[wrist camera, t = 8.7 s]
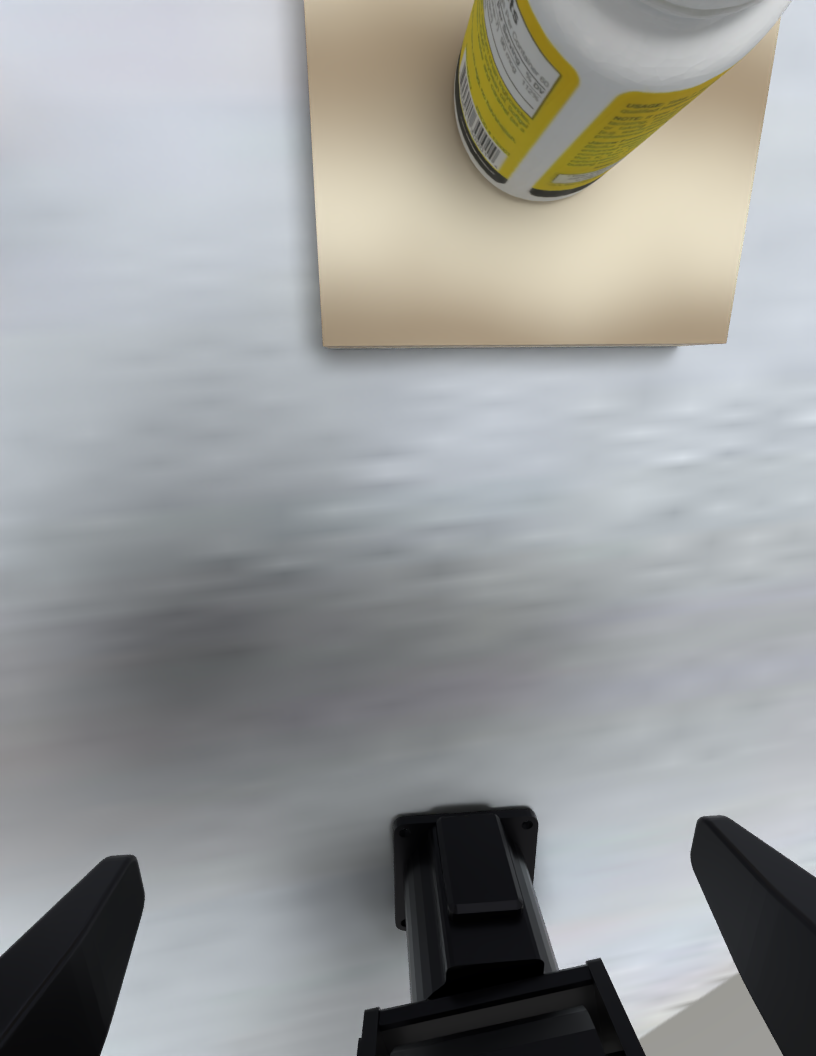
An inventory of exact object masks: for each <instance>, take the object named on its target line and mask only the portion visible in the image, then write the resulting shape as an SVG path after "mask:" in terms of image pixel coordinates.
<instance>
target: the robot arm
mask: <svg viewBox="0 0 816 1056" xmlns="http://www.w3.org/2000/svg"><path fill="white" fill-rule="evenodd" d="M524 821H526V822H524ZM402 829H406V830H402ZM537 833H538V820H537V818H536V815H535V813H534V812H533V811H532V810H530V809H516V810H501V811H485V812H469V813H454V814H438V815H422V816H406V817H400V818H398V819H397V820H396V821H395V822H394V825H393V841H394V886H395V923H396V927H397V928H398V929H400V930H405V931H407V947H408V962H409V978H410V994H411V1003H409V1004H405V1005H400V1006H396V1007H391V1008H387V1009H382V1010H381V1009H380V1007H376V1008H372V1009H367V1010H365V1011H364V1020H363V1030H362V1038H359V1041H358V1050H357V1056H646V1055H645V1053H644V1051H643V1049H642V1047H641V1045H640V1042H639V1040H638V1038H637V1036H636V1034H635V1032H634V1029H633V1027H632V1025H631V1023H630V1021H629V1019H628V1016H627V1014H626V1012H625V1010H624V1008H623V1006H622V1003H621V1001H620V999H619V997H618V995H617V993H616V990H615V988H614V986H613V984H612V982H611V980H610V977H609V975H608V973H607V971H606V969H605V967H604V964H603V962H602V960H601V958H597V959H593V960H588V961H586V964H585V965H581V966H576V967H572V968H567V969H563V970H559V968H558V965H557V962H556V959H555V955H554V952H553V949H552V946H551V943H550V939H549V936H548V933H547V930H546V926H545V923H544V920H543V917H542V914H541V910H540V907H539V904H538V901H537V897H536V894H535V891H534V888H533V879H534V868H535V856H536V845H537ZM690 856H691V864H692V867H693V870H694V873H695V875H696V877H697V880H698V882H699V884H700V886H701V889H702V891H703V893H704V895H705V898H706V900H707V902H708V904H709V907H710V909H711V911H712V913H713V916H714V918H715V920H716V922H717V925H718V927H719V929H720V931H721V934H722V936H723V938H724V940H725V943H726V945H727V947H728V949H729V952H730V954H731V956H732V958H733V961H734V963H735V965H736V967H737V969H738V971H739V973H740V975H741V977H742V980H743V981H744V983H745V985H746V987H747V989H748V991H749V993H750V995H751V997H752V999H753V1001H754V1002H755V1004H756V1006H757V1008H758V1010H759V1012H760V1014H761V1015H762V1017H763V1019H764V1021H765V1023H766V1024H767V1026H768V1028H769V1030H770V1032H771V1034H772V1036H773V1037H774V1039H775V1041H776V1043H777V1045H778V1046H779V1048H780V1050H781V1052H782V1054H783V1056H816V877H814V876H813V875H811V874H810V873H808V872H807V871H806V870H804V869H803V868H801V867H800V866H798V865H797V864H795V863H794V862H792V861H791V860H790V859H788V858H787V857H785V856H784V855H782V854H781V853H779V852H778V851H776V850H775V849H774V848H772V847H771V846H769V845H768V844H766V843H765V842H763V841H762V840H760V839H759V838H758V837H756V836H755V835H753V834H752V833H750V832H749V831H747V830H746V829H744V828H743V827H742V826H740V825H739V824H737V823H736V822H734V821H733V820H731V819H730V818H728V817H726V816H722V815H717V816H703V817H700V818H699V819H698V821H697V823H696V828H695V833H694V838H693V843H692V848H691V853H690ZM144 901H145V893H144V887H143V883H142V878H141V874H140V869H139V865H138V861H137V858H136V857H135V856H134V855H117V856H109V857H106V858H105V859H103V860H102V861H101V862H100V863H99V864H98V865H96V866H95V867H94V868H93V869H92V870H91V871H90V872H89V873H88V874H87V875H86V876H85V877H84V878H83V879H82V880H81V881H80V882H79V883H78V884H76V885H75V886H74V887H73V888H72V889H71V890H70V891H69V892H68V893H67V894H66V895H65V896H64V897H63V898H62V899H61V900H60V901H59V902H57V903H56V904H55V905H54V906H53V907H52V908H51V909H50V910H49V911H48V912H47V913H46V914H45V915H44V916H43V917H42V918H41V919H40V920H39V921H37V922H36V923H35V924H34V925H33V926H32V927H31V928H30V929H29V930H28V931H27V932H26V933H25V934H24V935H23V936H22V937H21V938H20V939H18V940H17V941H16V942H15V943H14V944H13V945H12V946H11V947H10V948H9V949H8V950H7V951H6V952H5V953H4V954H3V955H2V956H1V957H0V1056H100V1054H101V1051H102V1049H103V1046H104V1043H105V1040H106V1037H107V1034H108V1031H109V1028H110V1024H111V1021H112V1018H113V1015H114V1011H115V1008H116V1004H117V1001H118V997H119V994H120V990H121V987H122V983H123V979H124V976H125V972H126V969H127V965H128V962H129V958H130V955H131V951H132V948H133V944H134V941H135V937H136V934H137V930H138V927H139V923H140V920H141V916H142V912H143V908H144Z"/></svg>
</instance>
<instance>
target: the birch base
mask: <svg viewBox="0 0 816 1056" xmlns="http://www.w3.org/2000/svg"><path fill="white" fill-rule="evenodd" d="M473 4H474V0H304V12H305V30H306V48H307V66H308V84H309V102H310V120H311V139H312V157H313V175H314V193H315V211H316V229H317V248H318V266H319V284H320V302H321V320H322V338H323V346H324V347H327V348H329V349H342V348H482V347H623V346H689V345H706V344H723V343H726V341H727V335H728V329H729V323H730V317H731V311H732V305H733V299H734V294H735V288H736V282H737V276H738V270H739V264H740V258H741V252H742V246H743V240H744V234H745V228H746V222H747V216H748V210H749V204H750V198H751V192H752V186H753V180H754V174H755V168H756V162H757V156H758V150H759V144H760V138H761V132H762V126H763V120H764V114H765V108H766V102H767V96H768V90H769V84H770V78H771V72H772V66H773V60H774V54H775V48H776V42H777V36H778V30H779V24H780V18H781V17H780V18H779V19H778V21H777V22H776V23H775V25H774V26H773V27H772V28H771V29H770V30H769V32H768V33H767V34H766V35H765V36H764V37H763V38H762V39H761V41H760V42H759V43H758V44H757V45H756V46H755V47H754V48H753V49H752V50H751V51H750V52H749V53H748V54H747V55H746V56H745V57H744V58H742V59H741V60H740V61H739V62H738V63H737V64H736V65H735V66H733V67H732V68H731V69H730V70H729V71H727V72H726V73H725V74H724V75H722V76H721V77H720V78H719V79H718V80H716V81H715V82H714V83H713V84H712V85H710V86H709V87H708V88H707V89H706V90H704V91H703V92H702V93H701V94H700V95H699V96H698V97H696V98H695V99H694V100H693V101H692V102H690V103H689V104H688V105H687V106H686V107H684V108H683V109H682V110H681V111H679V112H678V113H677V114H676V115H675V116H673V117H672V118H671V119H670V120H669V121H667V122H666V123H665V124H664V125H663V126H661V127H660V128H659V129H658V130H657V131H656V132H654V133H653V134H652V135H651V136H650V137H649V138H647V139H646V140H645V141H644V142H643V143H641V144H640V145H639V146H638V147H637V148H635V149H634V150H633V151H632V152H630V153H629V154H628V155H627V156H626V157H625V158H624V159H622V160H621V161H620V162H619V163H618V164H616V165H615V166H614V167H613V168H611V169H610V170H609V171H608V172H606V173H605V174H604V175H603V176H602V177H600V178H599V179H598V180H597V181H595V182H594V183H593V184H592V185H590V186H589V187H587V188H585V189H584V190H582V191H581V192H579V193H576V194H574V195H572V196H569V197H566V198H563V199H559V200H554V201H531V200H526V199H522V198H518V197H515V196H512V195H510V194H508V193H506V192H503V191H502V190H500V189H498V188H497V187H496V186H494V185H493V184H492V183H490V182H489V181H488V180H487V179H486V178H485V177H484V176H483V175H482V174H481V173H480V171H479V170H478V169H477V168H476V166H475V165H474V163H473V162H472V160H471V159H470V157H469V155H468V153H467V151H466V149H465V147H464V145H463V142H462V140H461V137H460V133H459V130H458V126H457V121H456V115H455V105H454V83H455V73H456V68H457V62H458V58H459V54H460V50H461V47H462V43H463V40H464V36H465V33H466V29H467V25H468V22H469V18H470V14H471V11H472V7H473Z"/></svg>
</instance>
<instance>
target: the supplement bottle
mask: <svg viewBox="0 0 816 1056" xmlns="http://www.w3.org/2000/svg"><path fill="white" fill-rule="evenodd" d="M791 1H792V0H474V4H473V7H472V11H471V14H470V18H469V22H468V25H467V29H466V33H465V36H464V40H463V43H462V47H461V50H460V54H459V58H458V62H457V68H456V73H455V83H454V105H455V115H456V121H457V126H458V130H459V133H460V137H461V140H462V142H463V145H464V147H465V149H466V151H467V153H468V155H469V157H470V159H471V160H472V162H473V163H474V165H475V166H476V168H477V169H478V170H479V171H480V173H481V174H482V175H483V176H484V177H485V178H486V179H487V180H488V181H489V182H490V183H492V184H493V185H494V186H496V187H497V188H498V189H500V190H502V191H503V192H506V193H508V194H510V195H512V196H515V197H518V198H522V199H526V200H531V201H554V200H559V199H563V198H566V197H569V196H572V195H574V194H576V193H579V192H581V191H582V190H584V189H585V188H587V187H589V186H590V185H592V184H593V183H594V182H595V181H597V180H598V179H599V178H600V177H602V176H603V175H604V174H605V173H606V172H608V171H609V170H610V169H611V168H613V167H614V166H615V165H616V164H618V163H619V162H620V161H621V160H622V159H624V158H625V157H626V156H627V155H628V154H629V153H630V152H632V151H633V150H634V149H635V148H637V147H638V146H639V145H640V144H641V143H643V142H644V141H645V140H646V139H647V138H649V137H650V136H651V135H652V134H653V133H654V132H656V131H657V130H658V129H659V128H660V127H661V126H663V125H664V124H665V123H666V122H667V121H669V120H670V119H671V118H672V117H673V116H675V115H676V114H677V113H678V112H679V111H681V110H682V109H683V108H684V107H686V106H687V105H688V104H689V103H690V102H692V101H693V100H694V99H695V98H696V97H698V96H699V95H700V94H701V93H702V92H703V91H704V90H706V89H707V88H708V87H709V86H710V85H712V84H713V83H714V82H715V81H716V80H718V79H719V78H720V77H721V76H722V75H724V74H725V73H726V72H727V71H729V70H730V69H731V68H732V67H733V66H735V65H736V64H737V63H738V62H739V61H740V60H741V59H742V58H744V57H745V56H746V55H747V54H748V53H749V52H750V51H751V50H752V49H753V48H754V47H755V46H756V45H757V44H758V43H759V42H760V41H761V39H762V38H763V37H764V36H765V35H766V34H767V33H768V32H769V30H770V29H771V28H772V27H773V26H774V25H775V23H776V22H777V21H778V19H779V18H780V17H781V15H782V14H783V12H784V11H785V10H786V8H787V7H788V6H789V4H790V2H791Z"/></svg>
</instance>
